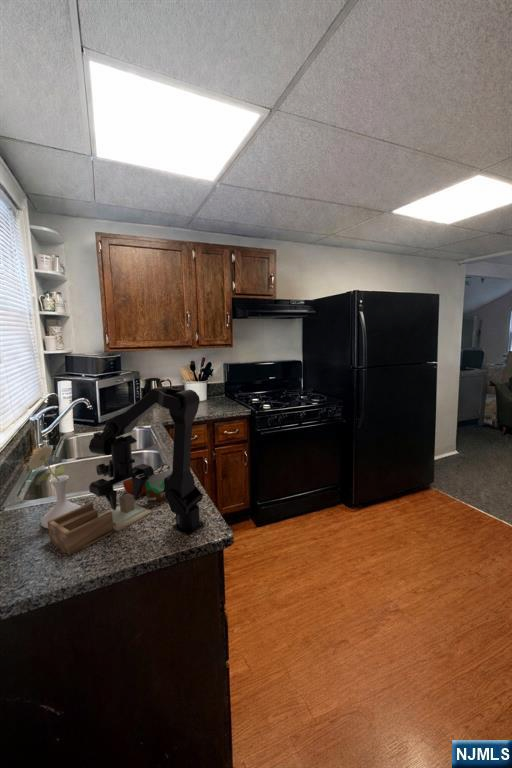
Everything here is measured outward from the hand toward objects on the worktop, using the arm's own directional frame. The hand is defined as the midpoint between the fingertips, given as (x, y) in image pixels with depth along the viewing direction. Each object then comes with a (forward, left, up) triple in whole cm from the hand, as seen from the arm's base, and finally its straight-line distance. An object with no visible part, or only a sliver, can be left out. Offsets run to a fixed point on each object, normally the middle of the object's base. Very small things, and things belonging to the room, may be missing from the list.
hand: (125, 504), depth 99 cm
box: (0, +14, -3) cm, 14 cm away
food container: (-1, -14, -3) cm, 14 cm away
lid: (0, +1, -3) cm, 3 cm away
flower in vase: (+12, +14, -3) cm, 19 cm away
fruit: (+10, -11, -3) cm, 15 cm away
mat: (0, +1, -3) cm, 3 cm away
